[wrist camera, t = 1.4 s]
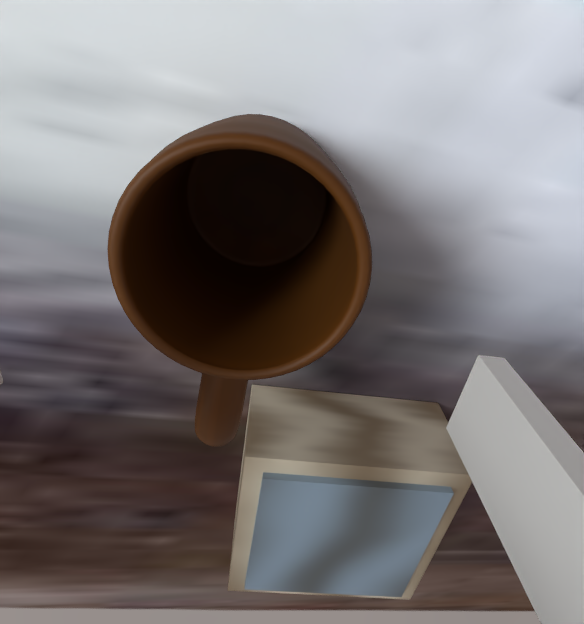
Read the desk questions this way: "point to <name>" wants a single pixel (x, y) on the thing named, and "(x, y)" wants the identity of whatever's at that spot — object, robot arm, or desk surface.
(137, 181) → the mug
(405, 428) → the plinth
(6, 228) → the desk surface
